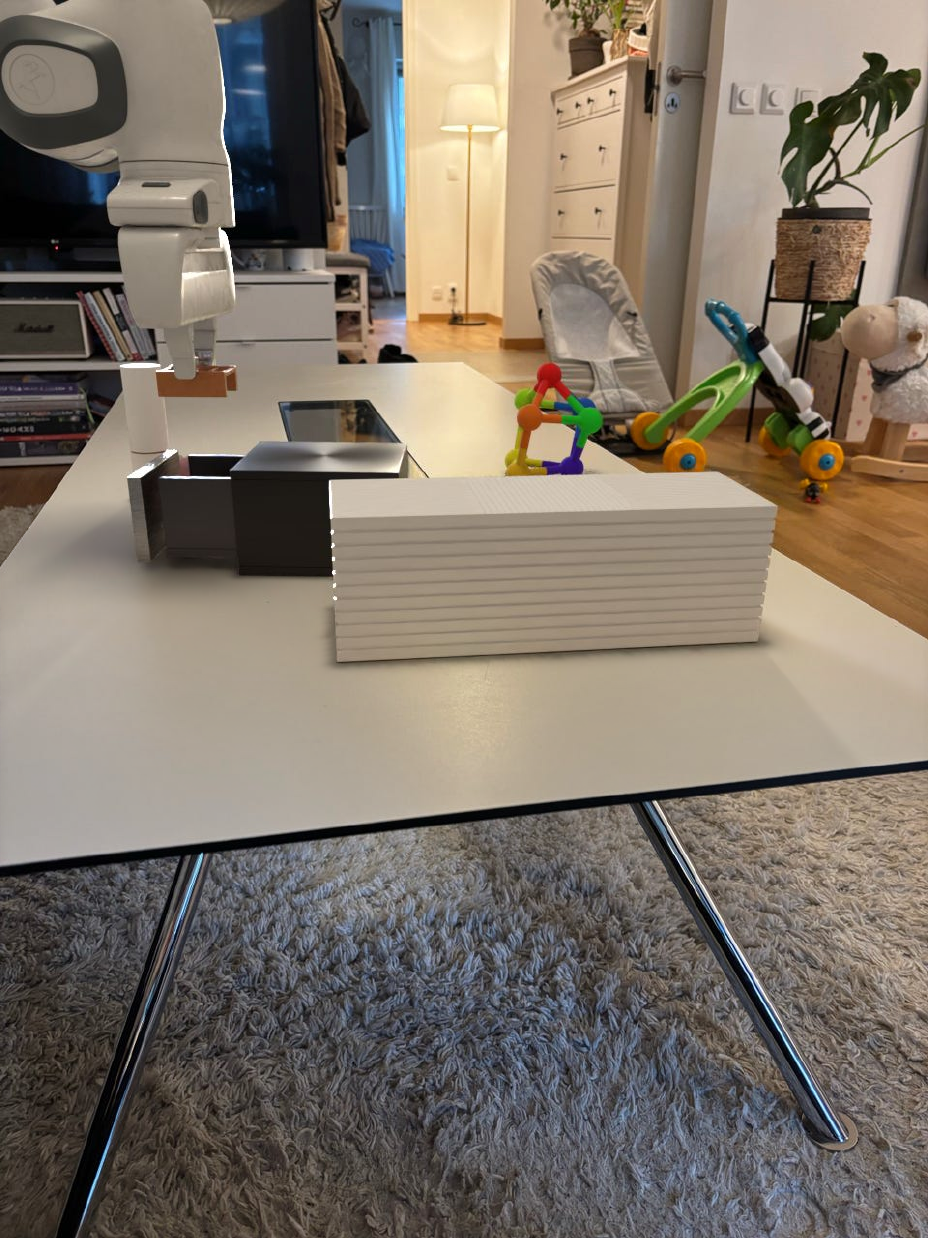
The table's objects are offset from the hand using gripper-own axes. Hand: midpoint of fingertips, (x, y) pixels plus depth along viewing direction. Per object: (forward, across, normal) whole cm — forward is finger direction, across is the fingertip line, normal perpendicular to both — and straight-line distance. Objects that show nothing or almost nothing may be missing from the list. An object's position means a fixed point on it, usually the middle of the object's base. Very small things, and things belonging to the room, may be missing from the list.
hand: (196, 374), depth 81 cm
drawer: (+16, 0, +1) cm, 16 cm away
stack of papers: (+17, +17, +30) cm, 39 cm away
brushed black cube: (+17, 0, +11) cm, 20 cm away
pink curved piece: (+17, -16, -6) cm, 24 cm away
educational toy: (+17, -32, +35) cm, 51 cm away
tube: (+17, -20, -12) cm, 29 cm away
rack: (+2, 0, 0) cm, 2 cm away
